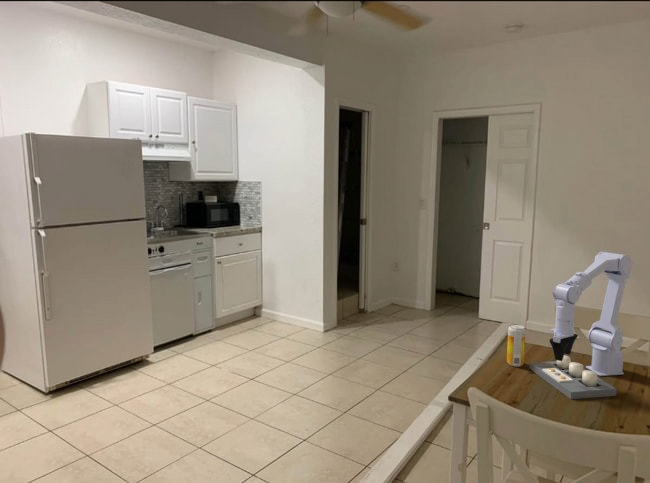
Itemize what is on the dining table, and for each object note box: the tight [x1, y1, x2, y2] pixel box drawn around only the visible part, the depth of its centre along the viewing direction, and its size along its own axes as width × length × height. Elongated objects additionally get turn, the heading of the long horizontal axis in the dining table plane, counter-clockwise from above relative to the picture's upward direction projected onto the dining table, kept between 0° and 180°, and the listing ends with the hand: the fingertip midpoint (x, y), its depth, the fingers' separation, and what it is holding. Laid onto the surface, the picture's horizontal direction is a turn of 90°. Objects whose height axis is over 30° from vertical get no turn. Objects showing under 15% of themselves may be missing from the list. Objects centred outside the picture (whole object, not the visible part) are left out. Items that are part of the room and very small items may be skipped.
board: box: [529, 360, 618, 400], centre depth 163 cm, size 16×24×2 cm, turn 7°
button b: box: [569, 361, 585, 378], centre depth 163 cm, size 4×4×4 cm
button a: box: [556, 354, 571, 370], centre depth 170 cm, size 4×4×4 cm
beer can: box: [506, 324, 526, 368], centre depth 177 cm, size 6×6×15 cm
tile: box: [542, 368, 573, 383], centre depth 162 cm, size 5×10×1 cm, turn 7°
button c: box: [582, 369, 599, 387], centre depth 156 cm, size 4×4×4 cm
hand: (562, 356), depth 160 cm, fingers open, 7 cm apart
